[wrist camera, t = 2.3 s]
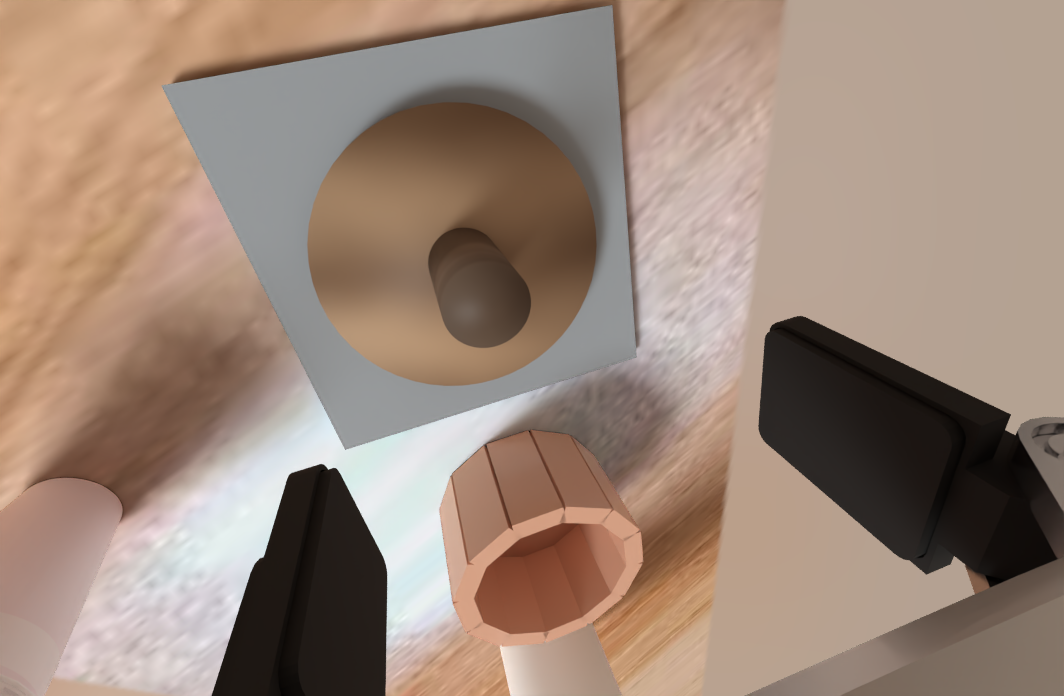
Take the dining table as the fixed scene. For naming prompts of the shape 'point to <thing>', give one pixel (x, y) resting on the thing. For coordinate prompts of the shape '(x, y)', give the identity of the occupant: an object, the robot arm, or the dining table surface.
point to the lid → (451, 244)
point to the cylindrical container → (560, 667)
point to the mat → (357, 104)
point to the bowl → (535, 539)
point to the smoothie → (48, 574)
